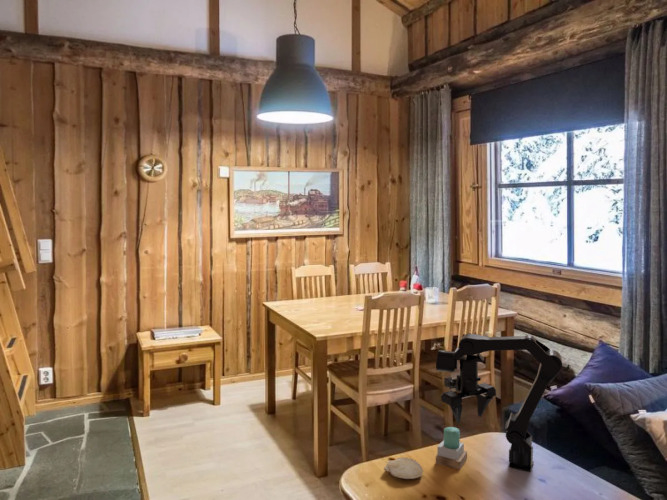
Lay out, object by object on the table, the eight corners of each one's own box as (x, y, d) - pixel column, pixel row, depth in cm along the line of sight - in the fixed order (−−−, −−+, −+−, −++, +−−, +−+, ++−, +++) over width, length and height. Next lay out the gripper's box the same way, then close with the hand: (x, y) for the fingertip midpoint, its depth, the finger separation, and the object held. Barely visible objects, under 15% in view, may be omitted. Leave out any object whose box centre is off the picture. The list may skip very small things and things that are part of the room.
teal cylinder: (461, 443, 174) (461, 428, 173) (457, 450, 170) (456, 435, 169) (446, 440, 177) (446, 425, 176) (441, 446, 172) (441, 432, 172)
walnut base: (466, 459, 176) (467, 451, 175) (460, 471, 169) (460, 461, 168) (443, 454, 180) (443, 445, 179) (435, 465, 173) (435, 456, 172)
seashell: (430, 479, 163) (430, 470, 163) (397, 488, 159) (397, 478, 158) (410, 462, 174) (410, 454, 174) (378, 469, 169) (378, 461, 169)
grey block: (463, 452, 175) (463, 443, 175) (456, 460, 169) (457, 451, 169) (444, 447, 178) (444, 438, 178) (437, 455, 173) (437, 446, 173)
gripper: (474, 362, 185) (474, 405, 187) (430, 371, 177) (430, 416, 179) (497, 371, 176) (497, 416, 177) (452, 381, 167) (452, 429, 169)
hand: (468, 419), depth 176 cm, fingers open, 9 cm apart
